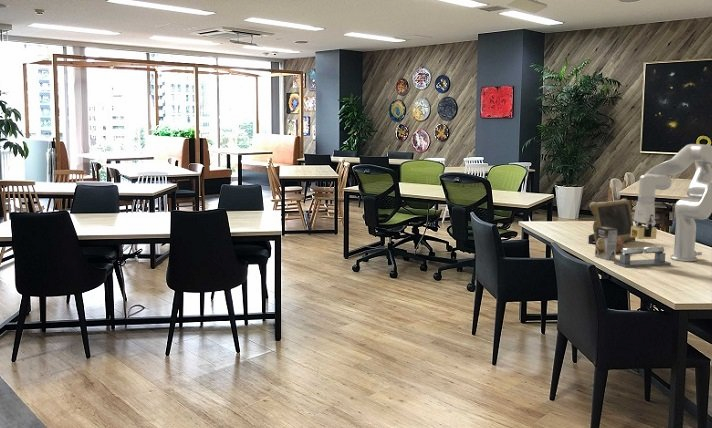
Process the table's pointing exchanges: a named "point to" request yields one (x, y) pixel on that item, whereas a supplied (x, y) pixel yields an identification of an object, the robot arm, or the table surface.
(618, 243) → the decorative rock
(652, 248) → the shaft rig
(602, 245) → the coffee box
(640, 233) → the coupler
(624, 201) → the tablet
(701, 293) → the table surface
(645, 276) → the table surface
